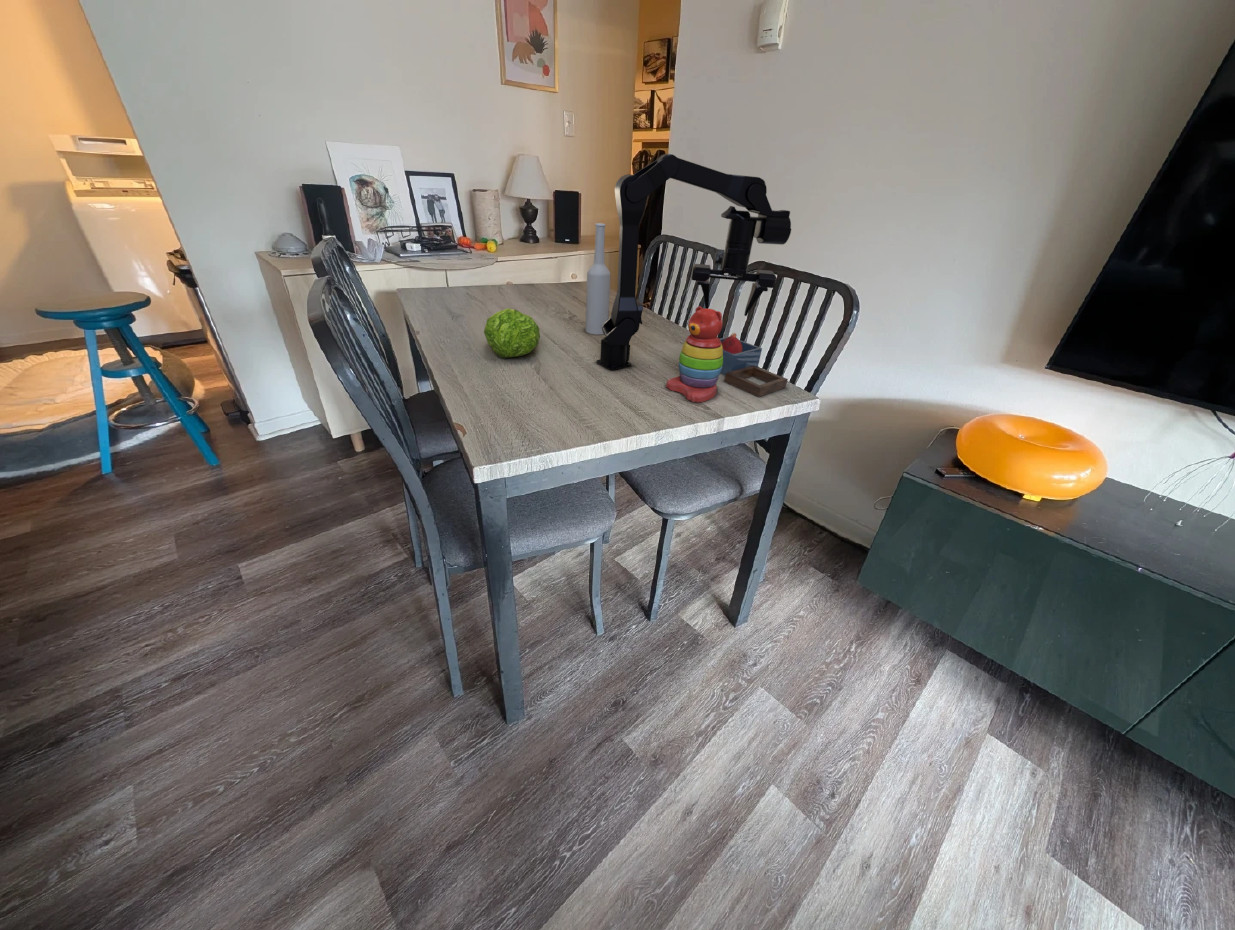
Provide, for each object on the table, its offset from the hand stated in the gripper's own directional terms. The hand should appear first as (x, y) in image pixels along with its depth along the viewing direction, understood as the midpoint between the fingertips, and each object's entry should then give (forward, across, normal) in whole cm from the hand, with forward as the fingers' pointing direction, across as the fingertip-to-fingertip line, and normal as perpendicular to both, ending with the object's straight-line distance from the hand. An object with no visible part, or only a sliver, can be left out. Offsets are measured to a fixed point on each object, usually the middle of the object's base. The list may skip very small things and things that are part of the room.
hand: (725, 313), depth 113 cm
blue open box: (+13, -3, +1) cm, 13 cm away
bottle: (+13, +34, -18) cm, 40 cm away
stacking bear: (+13, +6, +18) cm, 23 cm away
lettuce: (+13, +53, +3) cm, 55 cm away
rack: (+13, -8, +11) cm, 19 cm away
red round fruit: (+12, -3, +1) cm, 13 cm away
